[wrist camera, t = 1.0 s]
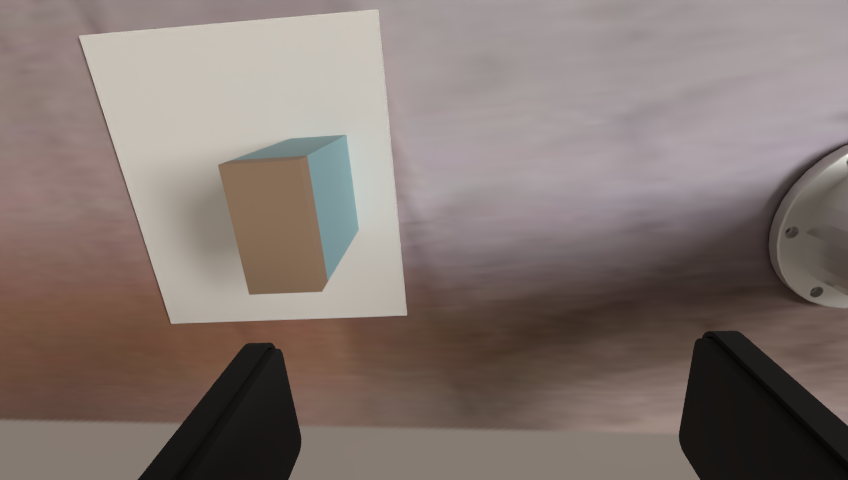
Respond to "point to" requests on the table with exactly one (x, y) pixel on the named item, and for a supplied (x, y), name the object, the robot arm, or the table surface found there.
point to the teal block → (291, 212)
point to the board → (249, 151)
